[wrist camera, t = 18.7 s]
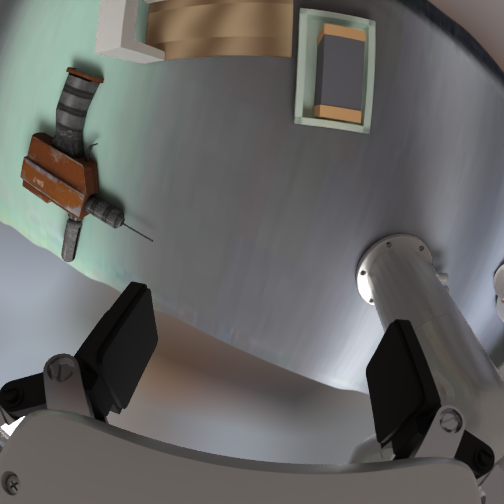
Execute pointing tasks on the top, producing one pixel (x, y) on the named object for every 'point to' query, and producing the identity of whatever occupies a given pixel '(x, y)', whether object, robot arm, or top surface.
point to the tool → (69, 164)
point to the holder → (221, 28)
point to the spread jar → (499, 291)
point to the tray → (307, 61)
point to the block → (339, 73)
